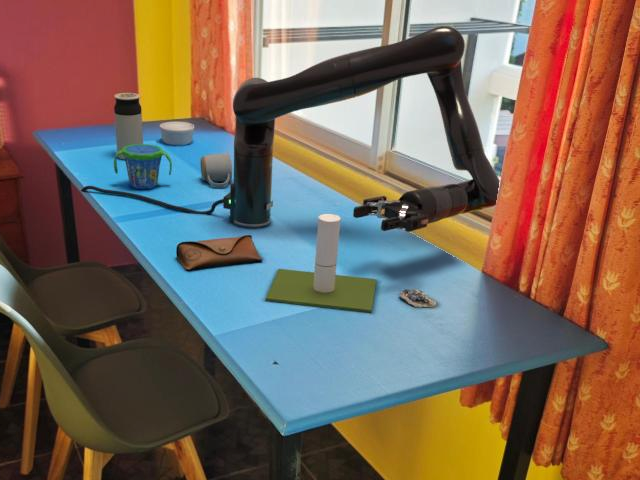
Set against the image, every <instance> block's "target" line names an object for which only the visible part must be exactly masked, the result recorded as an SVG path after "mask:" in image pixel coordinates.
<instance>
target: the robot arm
mask: <svg viewBox="0 0 640 480" xmlns="http://www.w3.org/2000/svg"><path fill="white" fill-rule="evenodd" d="M465 49H466V43H465V39H464V36H463V34H462V33H461V32H460V31H459V30H458V29H457V28H455V27H453V26H448V25H440V26H436V27H433V28H431V29H428V30H425V31H424V32H421V33H418V34H416V35H414V36H410V37H409V38H406V39H403V40H400V41H398V42H394V43H390V44H385V45H379V46H374V47H369V48H365V49H361V50H356V51H353V52H348V53H344V54H341V55H337V56H334V57H331V58H327V59H325V60H323V61H321V62H318V63H315V64H314V65H312V66H310V67H308V68H306V69H304V70H302V71H300V72H298V73H295V74H294V75H293V74H292V75H290V76H289V77H284V78H280V79H276V80H271V81H267V80H266V79H264V78H261V77H251V78H248V79H246V80H244V81H243V82H241V84H240V85H239V87H238V88H237V90H236V92H235V94H234V97H233V100H232V112H233V114H234V116H235V130H234V136H233V137H234V138H233V182H232V183H230V185H229V193H227V194H226V195H224V196H223V197H222V199H219V200H216V201H214V202H213V203H212V205H211V207H210V209H209V210H204V211H201V210H194V209H191V208H187V207H183V206H178V205H174V204H170V203H167V202H165V201H161V200H159V199H155V198H151V197H149V196H148V197H147V196H145V195H141V194H138V193H133V192H128V191H121V190H114V189H105V188H102V187H101V188H100V187H97V186H94V185H87V186H84V187H82V188H81V190H80V192H82V193H84V192H86V191H87V190H88V191H89V190H93V191H96V192H98V193H103V194H109V195H119V196H126V197H131V198H136V199H139V200H142V201H145V202H148V203H153V204H155V205H160V206H162V207H165V208H168V209H171V210H175V211H180V212H185V213H188V214H194V215H207V216H208V215H211V214H213V213H214V212H215V209H216V207H217V206H218V205H221V204H222V208H223V209H225V210H229V223H232V224H234V225H236V226H239V227H242V228H250V229H257V228H258V229H259V228H263V227H266V226H269V225H270V224H271V220H272V219H271V215H272V214H271V210H272V209H271V208H272V207H274V200H272V187H273V185H272V181H273V162H274V161H273V159H274V158H273V157H274V140H275V129H276V128H275V127H276V119H278V118H280V117H283V116H285V115H288V114H291V113H293V112H297V111H301V110H305V109H306V110H307V109H310V108H311V109H312V108H316V107H321V106H326V105H329V104H335V103H340V102H343V101H347V100H350V99H354V98H358V97H361V96H364V95H366V94H369V93H372V92H374V91H376V90H379V89H381V88H383V87H385V86H388V85H389V84H391V83H393V82H396V81H399V80H401V79H404V78H408V77H414V76H418V75H424V74H426V76H427V77H428V79H429V82H430V84H431V87H432V89H433V91H434V92H433V93H434V94H435V98H436V100H437V103H438V107H439V112H440V115H441V119H442V124H443V128H444V133H445V138H446V142H447V146H448V151H449V154H450V157H451V162H452V165H453V167H454V169H455V170H456V171H467V172H468V174H469V175H470V176H471V178H472V179H468V180H465V181H462V182H458V183H448V184H442V185H438V186H428V187H423V188H418V189H413V190H409V191H406V192H404V193H403V194H402V195H400V198H398V199H392V200H387V198H388V197H387V196H386V195H381V196H376V197H370V198H365V199H363V201H362V205H357V206H355V207H354V208H353V213H352V217H353V218H355V219H360V218H364V217H368V216H376V218H378V219H382V221H381V225H380V230H381V231H383V232H387V231H391V230H396V229H397V230H399V231H400V230H403V229H404V231H405V232H407V233H411V232H415V231H417V230H421V229H424V228H426V227H428V225H429V224H434V223H437V222H439V221H442V220H444V219H445V220H446V219H449V218H453V217H456V216H458V215H464V214H468V213H469V214H470V213H474V212H477V211H478V212H479V211H481V210H485V209H489V208H493V207H495V206H497V204H496V200H497V194H498V188H499V182H500V183H501V180H500V178H499V176H498V174H497V172H496V171H495V169H494V167H493V166H492V164H491V162H490V160H489V158H488V156H487V155H486V153H485V149H484V145H483V140H482V137H481V133H480V130H479V129H480V128H479V127H478V123H477V120H476V118H475V114H474V112H473V109H472V107H471V104H470V102H469V99H468V95H467V92H466V88H465V83H464V77H463V67H462V59H463V56H464V54H465ZM383 210H384V212H383V213H382V211H383Z"/></svg>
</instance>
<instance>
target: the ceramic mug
mask: <svg viewBox="0 0 640 480" xmlns="http://www.w3.org/2000/svg"><path fill="white" fill-rule="evenodd" d="M200 173H201V178H202V180H203V181H204V182H207V183H208V184H209V185H210V186H211V187H212V188H214V189H215V188H216V189H223V188H225V187H227V186H228V185H229V183H230V182H232V180H233V163H232V157H231V154H230V153H229V152H223V153H221V152H220V153H214V154H206V155H203V156H201V157H200ZM219 182H221V183H219Z"/></svg>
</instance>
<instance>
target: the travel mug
mask: <svg viewBox="0 0 640 480" xmlns="http://www.w3.org/2000/svg"><path fill="white" fill-rule="evenodd" d="M113 97H114V100H115V104H114V106H113V111H114V112H113V113H114V127H115V141H116V154H117V153H118V152H119V151H120V150H122V149H123V148H124V147H126V146H129V145H134V144H144V134H143V133H144V131H143V113H142V110H143V109H142V105H141V103H140V98H141V95H140V94H139V93H134V92H120V93H116V94H114V95H113ZM117 158H118V159H121V160H123V161H125V157H124V155H123V154H119V155H118V156H117Z"/></svg>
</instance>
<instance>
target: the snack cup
mask: <svg viewBox="0 0 640 480" xmlns="http://www.w3.org/2000/svg"><path fill="white" fill-rule="evenodd" d="M119 154H123V155H124V157H125V160H124V161H125V166H126V172H127V177H128V182H129V185H130V186H131V187H132V188H134V189H137V190H146V189H148V190H151V189H154V188H155V187H157V186H158V183H159V175H160V166H161V161H162V158H163V156H164V157H166V159H167V161H168V162H169V171H168V172H169V173H168V175H169V176H171V173H172V171H173V170H172V169H173V163H172V159H171V157H170V154H169V153H168V152H166V151H165V150H163V148H161V147H160V146H159V145H155V144H150V143H149V144H148V143H143V144H134V145H129V146H126V147H124V148H123V149H122V150H120V151H119V152H118V153H117V152H116V154H115V156H114V159H113V168H114V173H115V174H118V172H119V171H118V170H119V169H118V162H117V159H118V155H119Z"/></svg>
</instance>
